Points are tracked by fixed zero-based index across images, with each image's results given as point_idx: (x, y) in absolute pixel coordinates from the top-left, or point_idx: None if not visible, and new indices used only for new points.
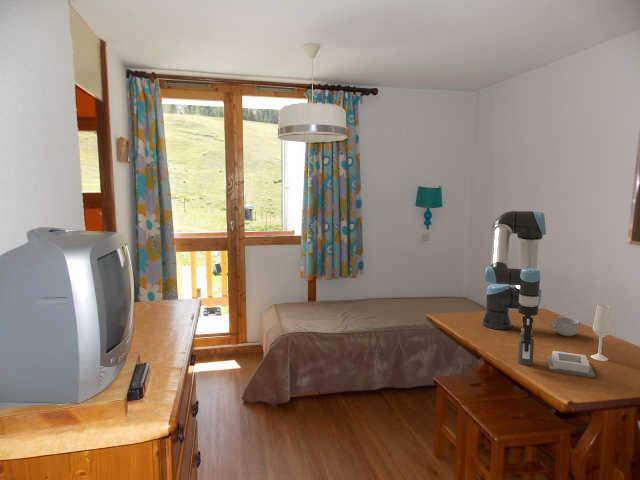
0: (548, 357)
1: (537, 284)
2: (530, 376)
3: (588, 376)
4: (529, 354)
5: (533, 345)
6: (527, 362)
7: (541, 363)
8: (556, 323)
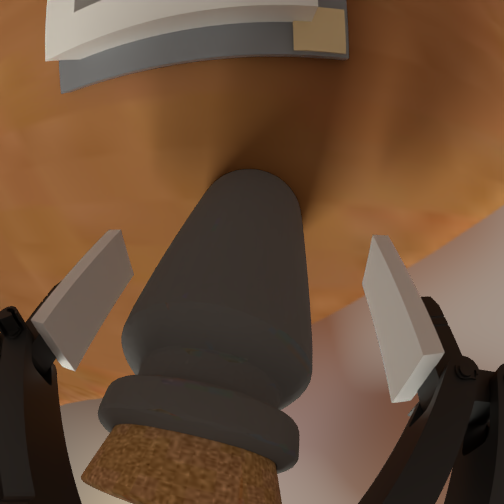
0: (95, 76)
1: None
2: (467, 201)
3: None
4: (402, 264)
5: (245, 260)
6: (300, 214)
7: (203, 107)
8: None
